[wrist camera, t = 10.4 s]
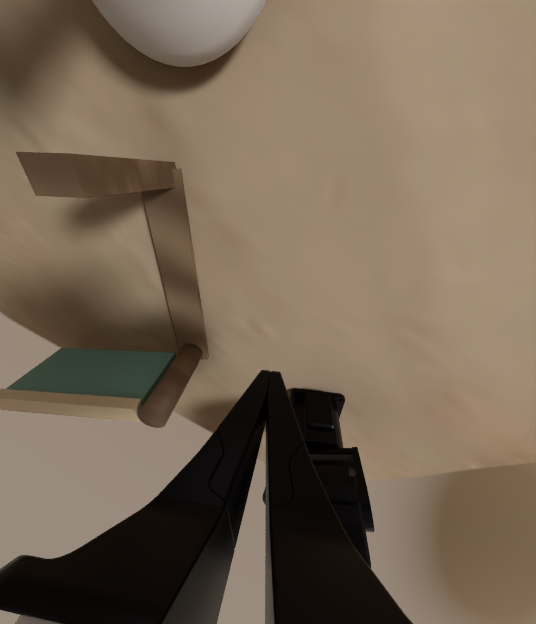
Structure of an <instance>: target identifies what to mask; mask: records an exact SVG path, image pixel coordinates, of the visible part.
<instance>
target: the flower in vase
mask: <svg viewBox="0 0 536 624" xmlns="http://www.w3.org/2000/svg"><path fill="white" fill-rule="evenodd" d="M92 1H93V3H94V4H95V6H96V7H97V9H98V10H99V12H100V13H101V14H102V16H103V17H104V18H105V19H106V20H107V22H108V23H109V24H110V25H111V26H112V28H113V29H114V30H115V31H116V32H117V33H118V34H119V35H120V36H121V37H122V38H123V39H124V40H125V41H126V42H128V43H129V44H130V45H131V46H133V47H134V48H135V49H137V50H138V51H139V52H141V53H143V54H144V55H146V56H148V57H149V58H151V59H153V60H156V61H158V62H161V63H164V64H167V65H172V66H177V67H192V66H198V65H203V64H206V63H208V62H211V61H213V60H216V59H217V58H219V57H220V56H222V55H224V54H225V53H227V52H228V51H229V50H230V49H231V48H233V47H234V46H235V45H236V44H237V43H238V42H239V41H240V40H241V39H242V38H243V37H244V35H245V34H246V33H247V32H248V31H249V29H250V28H251V27H252V25H253V23H254V22H255V20H256V19H257V17H258V16H259V14H260V13H261V11H262V9H263V7H264V5H265V3H266V1H267V0H92Z"/></svg>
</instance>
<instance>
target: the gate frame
mask: <svg viewBox="0 0 536 624" xmlns="http://www.w3.org/2000/svg"><path fill="white" fill-rule="evenodd" d="M16 154H17V156H18V158H19V160H20V162H21V165H22V167H23V169H24V171H25V173H26V175H27V178H28V180H29V182H30V184H31V186H32V188H33V191H34V193H35V195H36V196H54V197H74V198H89V197H98V196H107V195H115V194H124V193H132V192H141V191H142V196H143V200H144V204H145V208H146V212H147V217H148V221H149V225H150V229H151V233H152V238H153V242H154V246H155V250H156V254H157V259H158V263H159V267H160V271H161V275H162V280H163V284H164V288H165V292H166V297H167V301H168V305H169V309H170V313H171V318H172V322H173V326H174V330H175V334H176V339H177V343H178V347H179V351H180V352H179V353H178V355H177V356H176V358H175V359H174V361H173V362H172V364H171V365H170V367H169V368H168V370H167V371H166V373H165V374H164V376H163V377H162V379H161V380H160V381H159V383H158V384H157V386H156V387H155V389H154V390H153V392H152V393H151V395H150V396H149V398H148V399H147V401H146V402H145V404H144V405H143V407H142V408H141V410H140V411H139V412H138V418H139V419H140V420H141V421H142V422H143V423H145V424H146V425H148V426H151V427H156V428H160V427H163V426H165V424H166V422H167V420H168V419H169V417H170V415H171V413H172V411H173V409H174V408H175V406H176V404H177V402H178V400H179V398H180V396H181V395H182V393H183V391H184V389H185V387H186V385H187V383H188V381H189V380H190V378H191V376H192V374H193V372H194V370H195V368H196V367H197V365H198V363H199V361H200V359H206V360H207V359H208V357H209V354H208V347H207V341H206V334H205V327H204V320H203V314H202V307H201V300H200V294H199V287H198V280H197V273H196V267H195V260H194V253H193V246H192V240H191V233H190V226H189V219H188V213H187V206H186V199H185V192H184V186H183V179H182V172H181V169H176V166H175V162H165V161H153V160H141V159H129V158H117V157H104V156H92V155H80V154H67V153H34V152H16Z"/></svg>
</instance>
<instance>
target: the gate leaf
mask: <svg viewBox="0 0 536 624" xmlns="http://www.w3.org/2000/svg"><path fill="white" fill-rule="evenodd" d="M175 358H176V353H175V352H150V351H126V350H101V349H76V348H61V349H60V350H58V351H57V352H56V353H54V354H53V355H51V356H50V357H49V358H47V359H46V360H45V361H43V362H42V363H40V364H39V365H38V366H36V367H35V368H34V369H32V370H31V371H30V372H28V373H27V374H25V375H24V376H23V377H21V378H20V379H19V380H17V381H16V382H15V383H13V384H12V385H11V386H9V387H8V388H7V389H0V409H2V410H9V411H21V412H32V413H44V414H56V415H66V416H78V417H90V418H101V419H113V420H124V421H135V422H141V420H140V419H139V418H138V412H139V411H140V410H141V408H142V407H143V405H144V404H145V402H146V401H147V399H148V398H149V396H150V395H151V393H152V392H153V390H154V389H155V387H156V386H157V384H158V383H159V381H160V380H161V379H162V377H163V376H164V374H165V373H166V371H167V370H168V368H169V367H170V365H171V364H172V362H173V361H174V359H175Z"/></svg>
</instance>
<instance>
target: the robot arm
mask: <svg viewBox="0 0 536 624" xmlns="http://www.w3.org/2000/svg"><path fill="white" fill-rule="evenodd" d="M344 402H345V397H344V396H343V395H340V394H332V393H324V392H315V391H307V390H299V389H293V390H291V396H290V399H289V396H288V393H287V390H286V387H285V384H284V381H283V379H282V376H281V373H280V372H276V371H271V372H270V371H267V370H262V371H260V373H259V374H258V375H257V377H256V378H255V379H254V381H253V382H252V383H251V385H250V386H249V387H248V389H247V390H246V391H245V393H244V394H243V395H242V396H241V398H240V399H239V400H238V402H237V403H236V404H235V406H234V407H233V408H232V410H231V411H230V412H229V414H228V415H227V416H226V418H225V419H224V420H223V421H222V423H221V424H220V425H219V427H218V428H217V430H216V431H215V432H214V433H213V434H212V436H211V437H210V438H209V440H208V441H207V442H206V444H205V445H204V446H203V447H202V448H201V450H200V451H199V452H198V453H197V454H196V455H195V456H194V457H193V459H192V460H191V461H190V462H189V463H188V464H187V465H186V466H185V467H184V468H183V469H182V470H181V471H180V472H179V473H178V475H177V476H176V477H175V478H174V479H173V480H172V481H171V482H170V483H169V484H168V485H167V486H166V487H165V488H164V489H163V491H161V492H160V494H159V495H158V496H157V497H155V498H154V499H153V500H152V501H151V502H150V503H149V504H147V505H146V506H145V507H143V508H142V509H141V510H139V511H138V512H136V513H134V514H133V515H131V516H130V517H128V518H127V519H125V520H123V521H122V522H120V523H118V524H117V525H115V526H114V527H112V528H110V529H109V530H107V531H106V532H104V533H102V534H101V535H99V536H98V537H96V538H95V539H93V540H92V541H90V542H88V543H87V544H85V545H83V546H82V547H80V548H78V549H77V550H75V551H73V552H71V553H69V554H66V555H64V556H62V557H58V558H54V559H44V558H40V557H34V556H28V555H21V556H18V557H17V558H15V559H14V560H13V561H11V562H10V563H8V564H7V565H6V566H4V567H3V568H1V569H0V610H3V611H7V612H12V613H16V614H20V617H19V618H18V620H17V622H16V623H15V624H217V620H218V616H219V611H220V607H221V603H222V599H223V595H224V591H225V586H226V583H227V579H228V574H229V571H230V566H231V562H232V558H233V554H234V548H235V545H236V542H237V538H238V533H239V529H240V525H241V521H242V517H243V513H244V509H245V505H246V501H247V497H248V492H249V488H250V484H251V480H252V476H253V472H254V468H255V464H256V460H257V455H258V451H259V447H260V443H261V439H262V435H263V431H264V427H265V422H266V487H265V490H264V493H263V501H264V503H265V505H266V561H265V562H266V563H265V566H266V567H265V583H266V584H265V592H266V593H265V624H413V623H412V622H411V621H410V620H409V619H408V618H407V617H406V615H405V614H404V613H403V611H402V610H401V609H400V607H399V606H398V605H397V603H396V602H395V601H394V599H393V598H392V597H391V595H390V594H389V593H388V591H387V590H386V589H385V587H384V586H383V585H382V583H381V582H380V581H379V579H378V578H377V577H376V575H375V574H374V573H373V571H372V570H371V561H370V555H369V549H368V543H367V537H366V531H367V532H374V524H373V518H372V512H371V506H370V501H369V496H368V491H367V486H366V482H365V478H364V474H363V469H362V465H361V461H360V457H359V452H358V448H357V447H352V448H343V442H342V436H341V429H340V423H339V417H340V414H341V411H342V408H343V405H344Z"/></svg>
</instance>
